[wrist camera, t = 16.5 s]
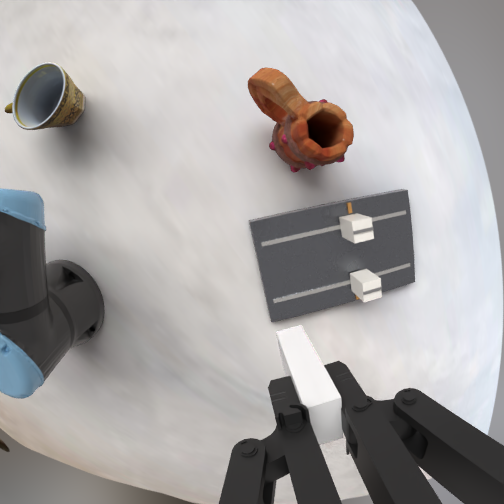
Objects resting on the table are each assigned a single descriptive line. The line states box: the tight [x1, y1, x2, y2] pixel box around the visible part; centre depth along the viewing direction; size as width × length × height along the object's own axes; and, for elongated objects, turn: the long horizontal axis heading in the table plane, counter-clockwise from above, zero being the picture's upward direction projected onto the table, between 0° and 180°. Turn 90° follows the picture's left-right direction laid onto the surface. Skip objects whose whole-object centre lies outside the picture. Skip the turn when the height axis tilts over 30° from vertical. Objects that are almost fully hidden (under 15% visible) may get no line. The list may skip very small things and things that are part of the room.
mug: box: [248, 68, 354, 172], centre depth 35 cm, size 15×8×15 cm, turn 46°
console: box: [249, 189, 415, 322], centre depth 46 cm, size 26×16×2 cm, turn 102°
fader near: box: [339, 213, 374, 243], centre depth 41 cm, size 3×3×5 cm
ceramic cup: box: [5, 62, 85, 130], centre depth 33 cm, size 13×10×10 cm
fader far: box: [350, 269, 382, 302], centre depth 43 cm, size 3×3×5 cm
